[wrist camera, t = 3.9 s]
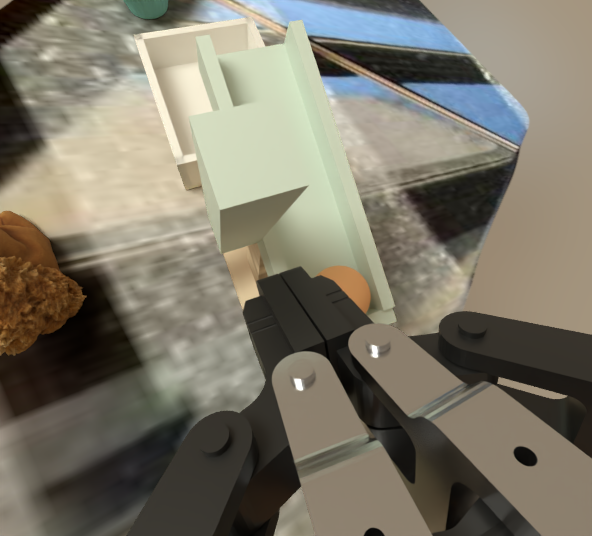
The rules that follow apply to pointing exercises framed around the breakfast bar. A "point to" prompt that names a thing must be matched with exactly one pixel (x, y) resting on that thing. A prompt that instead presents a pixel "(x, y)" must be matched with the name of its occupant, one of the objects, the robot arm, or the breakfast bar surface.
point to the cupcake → (147, 8)
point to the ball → (350, 284)
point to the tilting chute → (281, 165)
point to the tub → (188, 79)
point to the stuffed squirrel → (31, 286)
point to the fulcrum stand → (245, 271)
